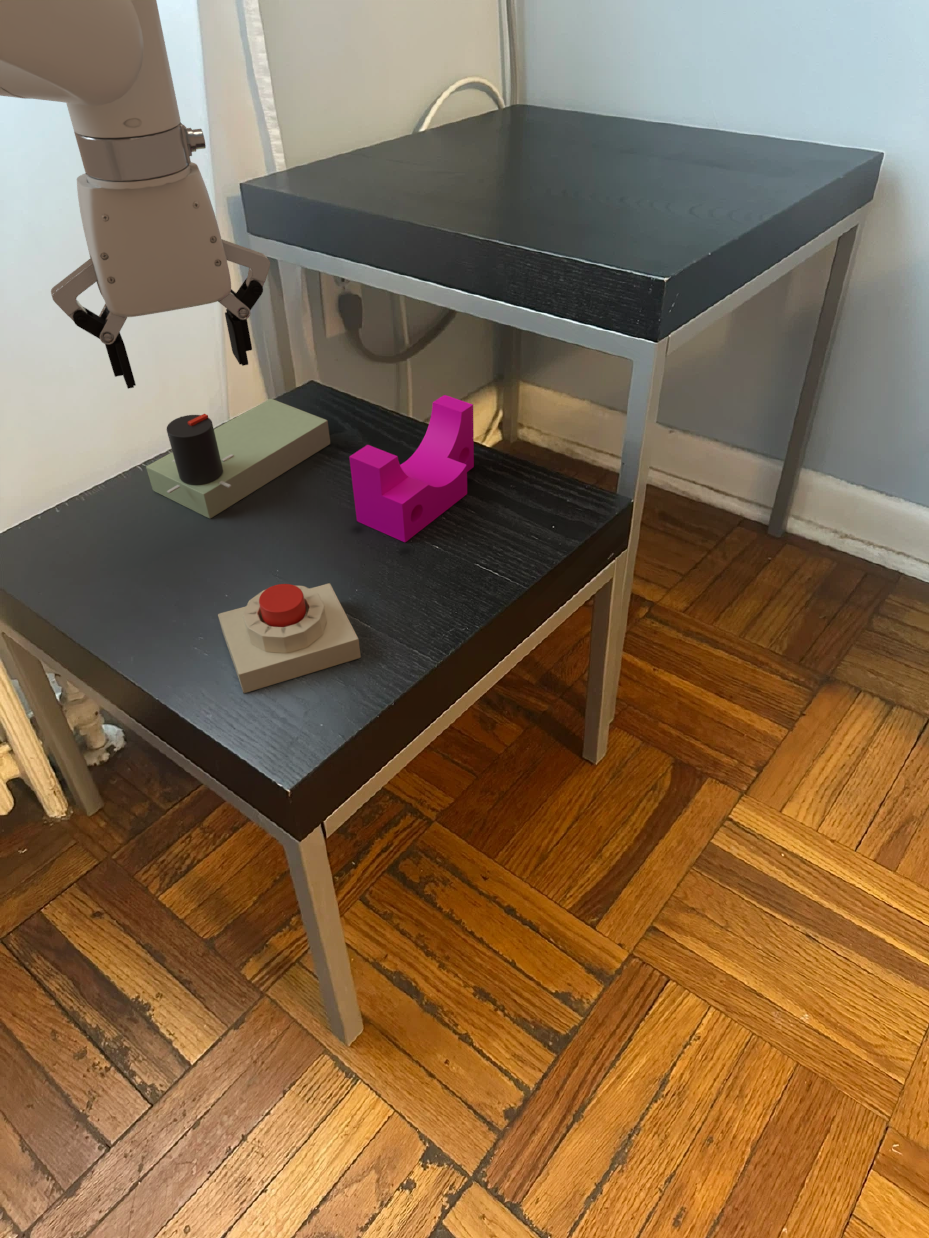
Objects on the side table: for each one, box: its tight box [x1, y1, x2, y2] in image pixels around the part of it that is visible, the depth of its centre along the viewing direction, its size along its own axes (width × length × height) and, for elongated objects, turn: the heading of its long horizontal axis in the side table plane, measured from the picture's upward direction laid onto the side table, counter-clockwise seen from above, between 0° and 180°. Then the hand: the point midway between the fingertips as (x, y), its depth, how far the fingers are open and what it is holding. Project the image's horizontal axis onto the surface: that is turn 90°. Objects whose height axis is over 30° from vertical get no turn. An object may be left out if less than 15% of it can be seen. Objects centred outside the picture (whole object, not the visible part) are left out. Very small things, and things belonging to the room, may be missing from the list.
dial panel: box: [145, 398, 331, 519], centre depth 95 cm, size 20×10×3 cm, turn 144°
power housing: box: [217, 582, 362, 694], centre depth 74 cm, size 10×8×4 cm
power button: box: [259, 583, 306, 627], centre depth 72 cm, size 4×4×2 cm
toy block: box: [348, 394, 475, 543], centre depth 89 cm, size 15×6×8 cm, turn 144°
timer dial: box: [166, 413, 223, 485], centre depth 88 cm, size 4×4×6 cm
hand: (186, 370), depth 77 cm, fingers open, 9 cm apart
